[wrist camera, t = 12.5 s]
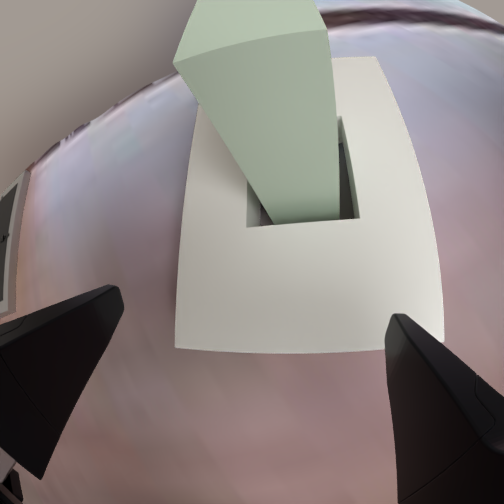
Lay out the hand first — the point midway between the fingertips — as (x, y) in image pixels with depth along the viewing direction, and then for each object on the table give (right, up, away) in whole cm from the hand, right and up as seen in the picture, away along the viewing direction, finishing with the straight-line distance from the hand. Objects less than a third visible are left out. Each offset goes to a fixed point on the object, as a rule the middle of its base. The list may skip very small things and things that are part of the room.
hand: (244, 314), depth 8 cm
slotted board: (+4, +6, +10) cm, 12 cm away
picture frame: (-38, +2, +22) cm, 44 cm away
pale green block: (+4, +6, +10) cm, 12 cm away
